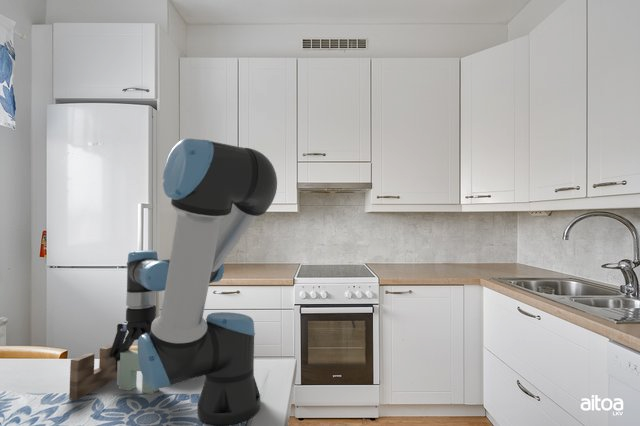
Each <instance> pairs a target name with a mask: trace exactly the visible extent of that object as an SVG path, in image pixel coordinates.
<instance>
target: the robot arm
mask: <svg viewBox="0 0 640 426" xmlns="http://www.w3.org/2000/svg"><path fill="white" fill-rule="evenodd" d="M162 179H163V183H162V184H163V185H162V186H163V187H162V188H163V191H164V194H165V195H166V197H168V198H170V199H171V200H170V201H171V202H170V206H171V207H172V208H173V209H174V210H175V212H176V213H177V216H176V222H175V226H174V227H175V228H174V231H173V232H174V234H173V240H172V244H171V251H170V257H169V258H168V259H159V258H158V252H157V251H156V250H152V249H151V250H149V249H148V250H131V251H130V252H128V255H127V262H126V268H127V269H126V270H127V271H126V273H127V275H126V299H125V300H126V301H125V303H126V304H125V305H126V309H125V321H124V322H120V323H118V324H117V325H116V334H115V337H114V340H113V342H112V343H113V346H112V349H111V351H110V355H109V356H110V357H113V358H115V360H116V371H117V379H116V385H117V386H119V382H120V352H121V353H122V352H125V351H127V350H131V349H130V348H131V347H132V345H133V344H134V342H135V341H137V351H138V358H139V364H140V369H141V371H140V372H141V376H143V378H144V381H145V383H146V384H147V386H148V387H150V388H151V389H153V390H156V389H158V388H159V389H162V388H167V387H168V388H169V387H171V386H174V385H177V384H180V383H183V382H187V381H191V380H193V379H196V378H199V377H203V376H205V380H204V383H203V387H202V389H201V392H200V396H199V399H198V401H197V412H196V413H197V417H198V418H199V419H200V420H201V421H202V422H204V423H206V424H208V425H215V426H226V425H228V426H229V425H234V424H239V423H242V422H244V421H247V420H249V419H251V418H253V417H254V416H255V415H256V414H257V413H258V412H259V410H260V408H261V394H260V391H259V388H258V384H257V380H256V379H255V375H254V374H255V373H254V371H255V370H254V369H255V367H254V366H255V364H254V363H255V335H256V332H255V323H254V319H253V318H252V317H251V316H250V315H246V314H245V313H244V314H242V313H239V312H238V313H237V312H228V311H227V312H224V311H223V312H212V313H209V314H208V315H206V318H205V319H204V317H203V316H204V311H205V306H206V302H207V296H208V293H209V291H208V290H209V286H210V284H212V283H218V282H220V281H221V280H222V278H223V277H224V273H225V264H224V262H225V261H226V259H227V258H228V257H229V255H230V254H231V252H232V251H233V249H234V248H235V247H236V245H237V244H238V242H240V240H241V239H242V237H243V236H244V235H245V234H246V232H247V231H248V229H249V228H250V227H251V225H252V224H253V223H254V221H255V220H256V218H257V217H261V216H264V214H265V213H267V211H268V209H269V208H270V207H271V205H272V204H273V202H274V200H275V197H276V195H277V190H278V188H277V187H278V178H277V172H276V170H275V168H274V165H273V164H272V161H270V159H269V158H268V157H267V156H266V155H264V154H263V153H262V152H261V151H259V150H257V149H254V148H250V147H242V146H236V145H231V144H226V143H221V142H216V141H213V140H212V141H211V140H208V139H198V138H184V139H181V140H180V141H178V142H177V143H176V144H175V145H174V146H173V148H172V149H171V151H170V153H169V155H168V156H167V160H166V163H165V166H164V169H163V177H162ZM163 291H164V294H163V299H162V300H163V301H162V304H161V311H160V312H161V313H160V314H159V315H158V316H157V306H156V304H157V292H163ZM127 332H128V333H127Z"/></svg>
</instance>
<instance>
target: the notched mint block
mask: <svg viewBox="0 0 640 426" xmlns="http://www.w3.org/2000/svg"><path fill="white" fill-rule="evenodd" d="M137 372H141V369H140V364H139V358H138V350H133V349H129V350H127V351H125V352H122V353H121V352H120V382H119V385H118V386H119V387H118V389H119V390H125V391H132V390H133V389H135V388H136V387H137V380H138V379H137V377H138V376H137V375H138V373H137ZM141 376H142V375H141ZM141 378H142V381H141V382H142V383H141V386H142V388H141V393H144V394H145V393H147V394H155V393H157V392H158V391H159V390H160V388H158V389H156V390H153V389H151V388H150V387H148V386H147V384H146V383H145V381H144V378H143V376H142V377H141Z"/></svg>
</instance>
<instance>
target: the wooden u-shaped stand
mask: <svg viewBox="0 0 640 426" xmlns="http://www.w3.org/2000/svg"><path fill="white" fill-rule="evenodd" d="M113 343H114V342H112V343H110V344H107V345H105V346H102V347H100V348H99V363H98V368H95V353H90V352H87V353H85V354H82V355H79V356H77V357H75V358H71V359H70V364H69V365H70V367H69V368H70V369H69V370H70V371H69V396H68V397H69V399H71V400H78V399H80V398H82V397H84V396H86V395H89V394H90V393H92V392H93V391H96V390H98V389H99V388H102V387H103V386H105V385H107V384H109V383H111V382H113V381H115V380H117V371H116V360H115V358H113V357H110V356H109V355H110V351H111V349H112V346H113Z"/></svg>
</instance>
